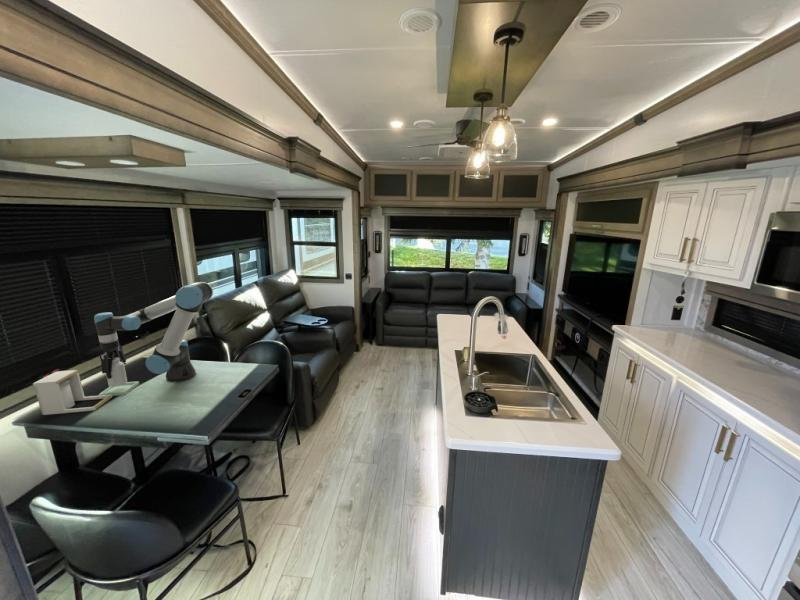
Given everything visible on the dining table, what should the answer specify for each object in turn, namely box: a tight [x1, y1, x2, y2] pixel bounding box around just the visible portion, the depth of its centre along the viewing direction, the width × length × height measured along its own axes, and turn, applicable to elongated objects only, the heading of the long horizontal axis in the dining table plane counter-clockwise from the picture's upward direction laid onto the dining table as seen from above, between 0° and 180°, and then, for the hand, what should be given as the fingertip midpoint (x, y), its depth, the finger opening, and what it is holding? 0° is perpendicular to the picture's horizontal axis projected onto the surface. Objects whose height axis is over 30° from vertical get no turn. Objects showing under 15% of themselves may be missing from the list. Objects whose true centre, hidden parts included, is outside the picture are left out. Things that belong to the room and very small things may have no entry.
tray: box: [98, 380, 140, 397], centre depth 178 cm, size 12×12×2 cm
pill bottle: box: [105, 357, 128, 387], centre depth 176 cm, size 8×8×15 cm
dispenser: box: [32, 369, 113, 416], centre depth 161 cm, size 22×13×17 cm, turn 100°
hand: (117, 379), depth 177 cm, fingers closed on pill bottle, 8 cm apart
